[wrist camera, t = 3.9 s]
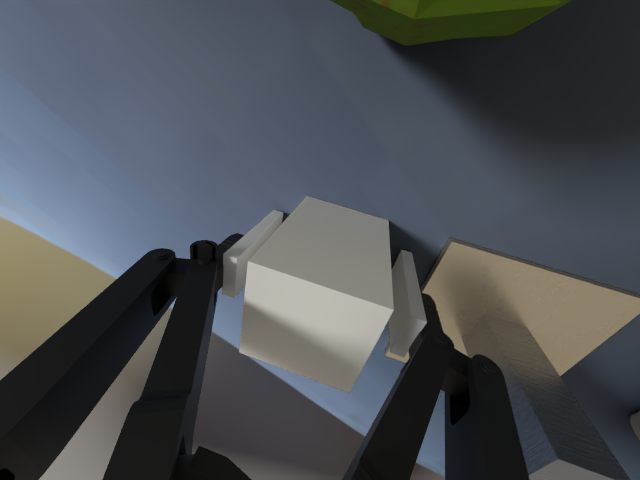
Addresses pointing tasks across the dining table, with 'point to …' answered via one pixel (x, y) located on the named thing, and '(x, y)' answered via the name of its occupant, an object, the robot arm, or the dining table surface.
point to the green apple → (447, 17)
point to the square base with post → (532, 347)
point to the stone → (636, 423)
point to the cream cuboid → (319, 293)
